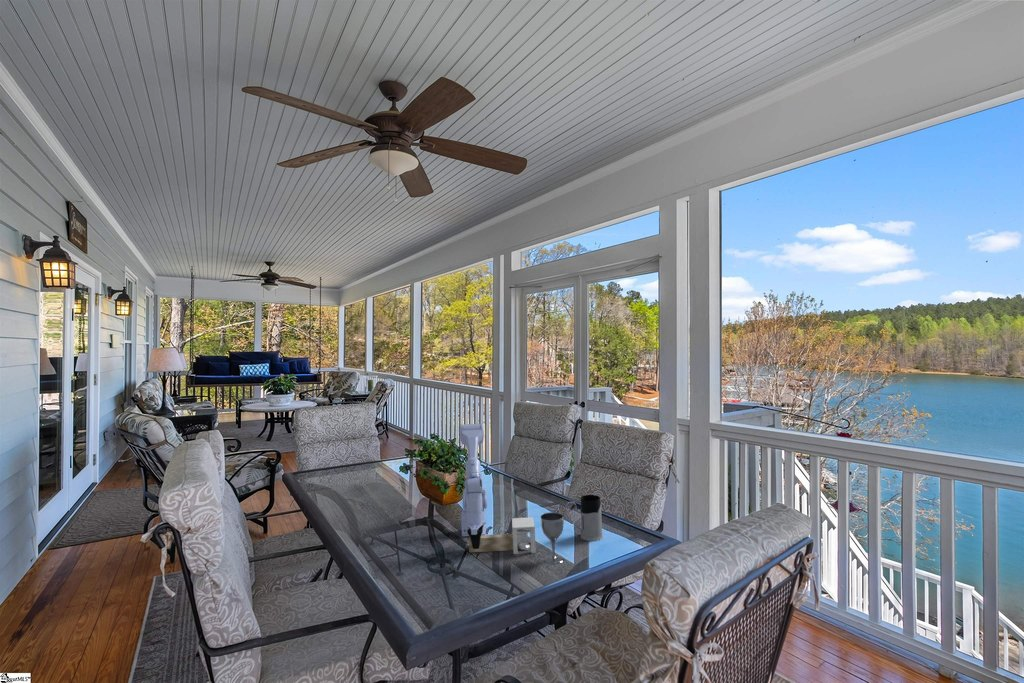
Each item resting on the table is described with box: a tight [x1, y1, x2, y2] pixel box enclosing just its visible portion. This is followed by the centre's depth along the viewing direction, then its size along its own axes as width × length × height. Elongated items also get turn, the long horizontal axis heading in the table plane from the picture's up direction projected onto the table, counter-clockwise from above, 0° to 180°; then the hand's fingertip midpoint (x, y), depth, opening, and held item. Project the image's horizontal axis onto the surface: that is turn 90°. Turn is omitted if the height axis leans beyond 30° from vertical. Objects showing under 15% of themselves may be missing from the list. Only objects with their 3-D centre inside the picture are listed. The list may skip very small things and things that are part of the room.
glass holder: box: [565, 494, 604, 542], centre depth 181 cm, size 9×14×15 cm, turn 90°
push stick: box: [468, 533, 514, 553], centre depth 173 cm, size 16×2×5 cm, turn 91°
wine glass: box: [540, 511, 565, 565], centre depth 163 cm, size 8×8×15 cm
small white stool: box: [511, 517, 537, 555], centre depth 173 cm, size 8×10×10 cm
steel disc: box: [517, 542, 531, 552], centre depth 173 cm, size 4×4×1 cm
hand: (476, 546), depth 173 cm, fingers closed on push stick, 2 cm apart
